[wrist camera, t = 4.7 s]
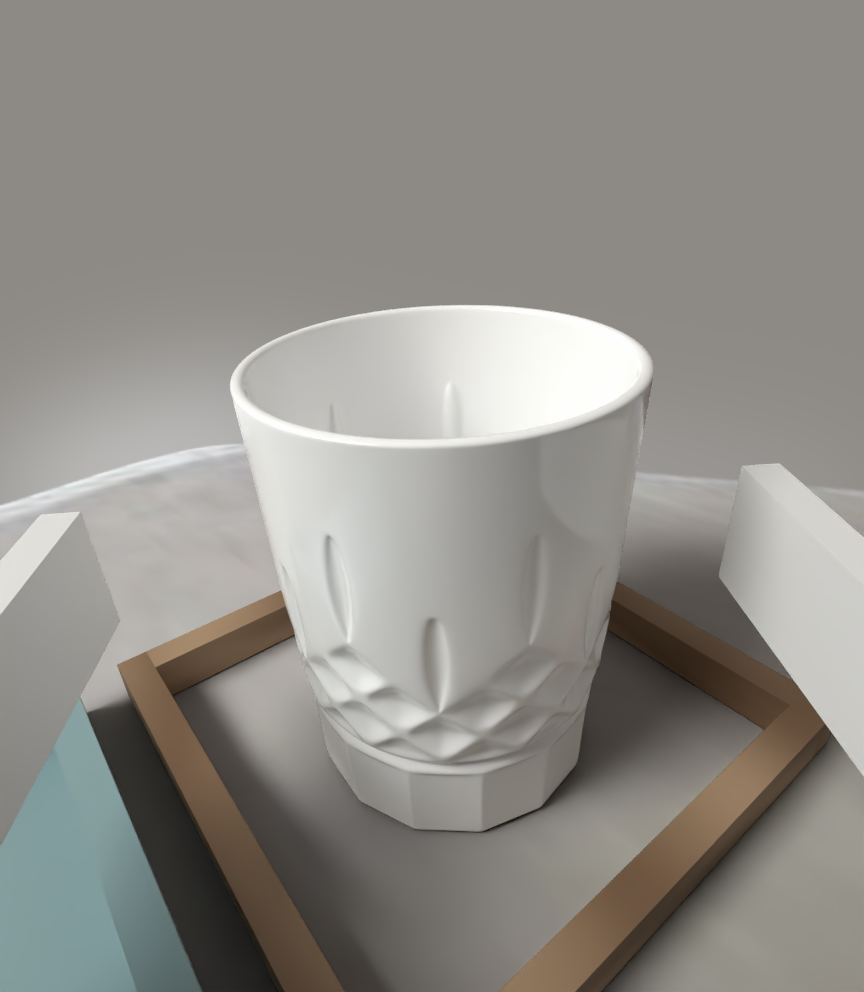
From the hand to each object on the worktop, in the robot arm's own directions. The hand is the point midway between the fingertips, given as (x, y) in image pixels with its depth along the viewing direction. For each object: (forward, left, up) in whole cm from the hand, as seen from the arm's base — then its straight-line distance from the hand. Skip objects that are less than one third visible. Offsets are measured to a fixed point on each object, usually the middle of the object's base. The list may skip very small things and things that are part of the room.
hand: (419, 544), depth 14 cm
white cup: (-1, -1, -7) cm, 7 cm away
